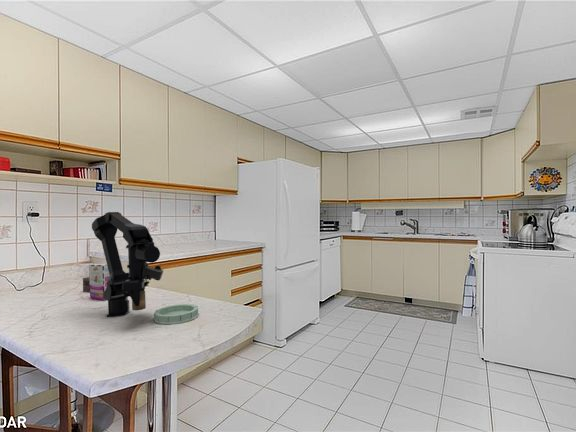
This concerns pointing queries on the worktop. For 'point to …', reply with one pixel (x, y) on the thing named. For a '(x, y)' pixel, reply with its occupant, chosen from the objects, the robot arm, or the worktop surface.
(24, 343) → the worktop surface
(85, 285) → the box
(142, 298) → the brown cylinder
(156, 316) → the dish
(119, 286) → the robot arm
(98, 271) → the candy bar box
